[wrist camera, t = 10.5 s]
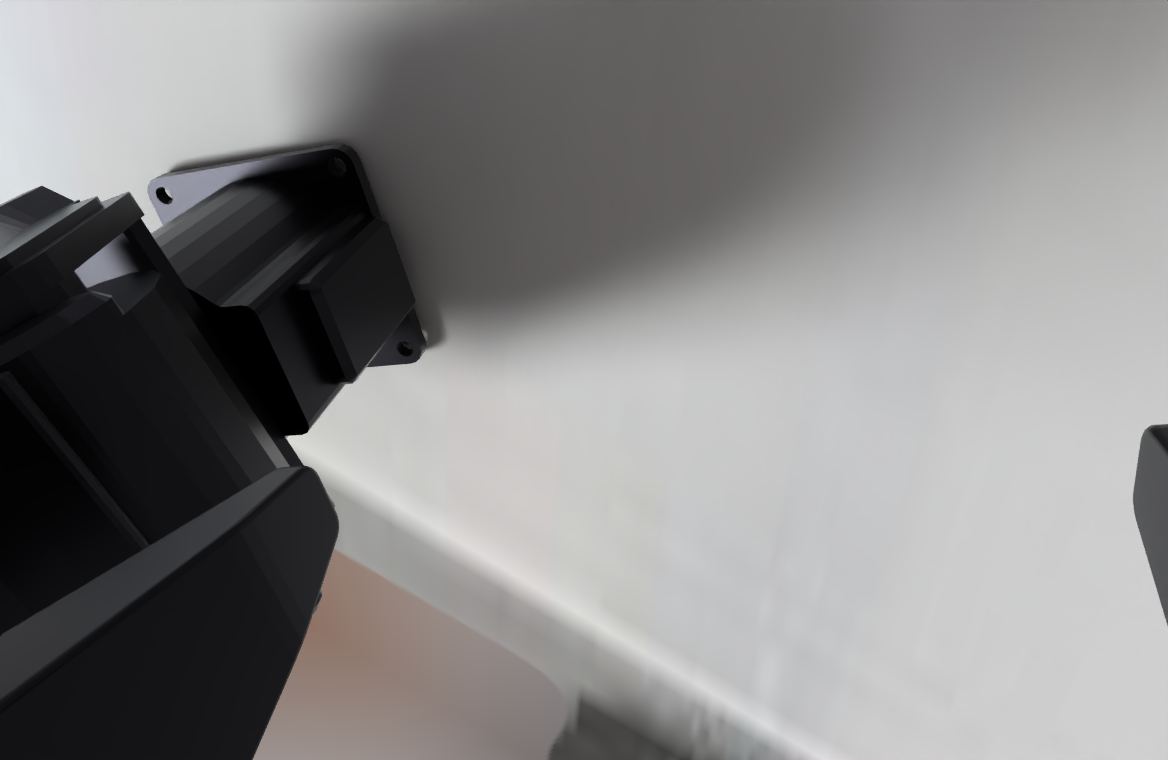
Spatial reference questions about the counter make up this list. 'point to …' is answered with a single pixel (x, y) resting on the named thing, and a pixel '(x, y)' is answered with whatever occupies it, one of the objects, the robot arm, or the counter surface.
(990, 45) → the counter surface
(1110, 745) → the counter surface
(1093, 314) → the counter surface
